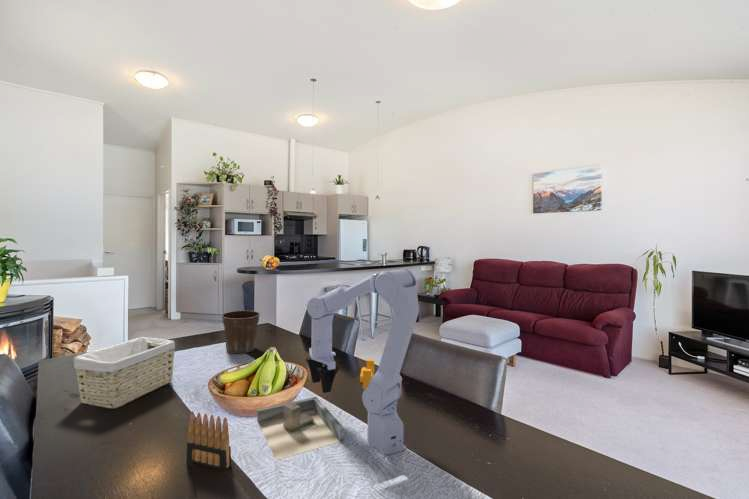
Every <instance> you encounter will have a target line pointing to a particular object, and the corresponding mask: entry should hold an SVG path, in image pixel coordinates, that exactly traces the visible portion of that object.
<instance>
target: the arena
mask: <svg viewBox="0 0 749 499" xmlns="http://www.w3.org/2000/svg"><path fill="white" fill-rule="evenodd" d="M290 402H291V401H290ZM290 402H284V403H281V404H276V405H271V406H266V407H263V408H262V407H261V408H258V409H257V410H256V411H257V413H256V416H257V418H256V420H257V422H256V423H257V424H258V426H259V428H260V430H261V432H262V434H263V436H264V438H265V440H266V443H267V444H268V447H269V448H270V450H271V453H272V455H273V457H274V458H275V461H278V460H282V459H285V458H289V457H292V456H295V455H299V454H303V453H306V452H310V451H314V450H317V449H320V448H324V447H327V446H331V445H334V444H337V443H342V442H344V441H345V427H344V426H343V425H342V424H341V423H340V422H339V420H338V419H337V418H336V417H335V416H334V415H333V414H332V413H331V411H330V410H328V408H327V407H326V406H325V405H324V404H323V403H322V401H320V400H319V398H318V397H317V396H313V397H309V398H305V399H300V400H294V401H292V402H293V403H295V404H296V405H298V406H300V415H302V414H307V415H309V416H310V417H312V418H314V423H312V424H310V425H308V426H305V427H303V428H301V429H299V430H297V431H295V432H290V431H289V430H287V429H286V428H284V427H283V405H284V404H287V403H290Z"/></svg>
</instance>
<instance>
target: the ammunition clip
mask: <svg viewBox="0 0 749 499" xmlns="http://www.w3.org/2000/svg"><path fill="white" fill-rule="evenodd" d="M201 415H202V414H201V412H198V413H197V415H195V412H194V411H193V410H192V411H191V412H190V416H189V425H188V427H189V428H188V430H187V431H188V437H187V438H188V442H186V464H188V465H187V466H190V465H192V466H191V467H194V464H197V465H202V466H207V467H211V468H215V469H219V470H222V471H227V470H228V468H229V467H231V466H232V449H231V446H230V434H229V422H228V419H227V417H226V416H225V417H224V418H223V420H222V421H221V417H220V416H219V415H218V416H217V418H216V421H215V417H214V415H213V414H211V415H210V418H209V417H208V414H207V413H204V415H203V418H202V416H201Z"/></svg>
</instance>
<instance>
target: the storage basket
mask: <svg viewBox="0 0 749 499" xmlns="http://www.w3.org/2000/svg"><path fill="white" fill-rule="evenodd" d="M175 343H176V342H175V341H174V340H170V339H164V338H154V337H145V336H140V337H137V338H133V339H130V340H127V341H124V342H120V343H117V344H114V345H110V346H107V347H104V348H100V349H97V350H96V349H95V350H92V351H89V352H86V353H82V354H79V355H76V356H74V357H73V367H74V368H73V369H75V373H76V376H77V377H76V378H77V379H76V380H77V384H78V391H79V397H80V402H81V403H82V404H85V405H87V404H88V405H91V406H96V407H99V408H100V407H101V408H106V409H118V408H120V407H122V406H125V405H126V404H128V403H131V402H132V401H134V400H136V399H138V398H140V397H143V396H145V395H146V394H149V393H151V392H153V391H155V390H157V389H159V388H161V387H163V386H165V385H168V384H169V383H172V382H173V376H174V375H173V372H174V364H175V363H174V358H175V351H176V350H175V348H176V344H175ZM149 346H151V347H153V348H149Z"/></svg>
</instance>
